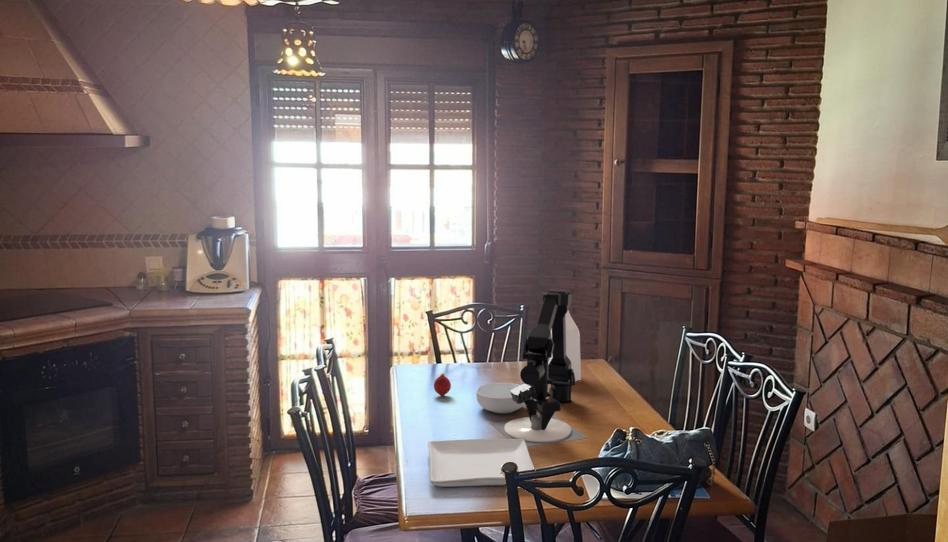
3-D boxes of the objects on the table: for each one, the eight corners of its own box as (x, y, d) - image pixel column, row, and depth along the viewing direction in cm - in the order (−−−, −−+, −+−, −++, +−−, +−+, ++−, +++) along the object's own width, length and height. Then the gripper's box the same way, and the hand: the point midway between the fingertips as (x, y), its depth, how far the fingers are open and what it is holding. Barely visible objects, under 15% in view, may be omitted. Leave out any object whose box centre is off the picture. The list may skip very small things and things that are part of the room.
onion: (448, 399, 277) (448, 376, 276) (432, 398, 279) (431, 375, 277) (452, 394, 283) (452, 371, 282) (436, 393, 284) (436, 370, 283)
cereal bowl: (495, 399, 278) (495, 379, 277) (537, 408, 268) (537, 387, 267) (465, 412, 264) (465, 391, 263) (508, 422, 255) (509, 401, 254)
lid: (551, 416, 260) (552, 403, 259) (583, 437, 242) (583, 423, 241) (493, 423, 252) (494, 410, 252) (521, 446, 234) (522, 431, 233)
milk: (565, 373, 310) (566, 305, 305) (580, 381, 299) (582, 311, 295) (536, 376, 305) (538, 308, 301) (552, 385, 294) (553, 314, 290)
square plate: (427, 452, 231) (427, 439, 231) (524, 450, 233) (524, 437, 233) (429, 493, 204) (429, 478, 204) (538, 490, 206) (538, 476, 206)
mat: (553, 415, 261) (553, 414, 261) (587, 439, 241) (587, 437, 241) (489, 424, 253) (489, 423, 253) (520, 449, 233) (520, 447, 233)
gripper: (501, 370, 250) (500, 419, 252) (527, 387, 233) (527, 439, 235) (534, 366, 254) (533, 415, 256) (562, 383, 237) (561, 434, 239)
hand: (537, 425), depth 247 cm, fingers open, 7 cm apart
